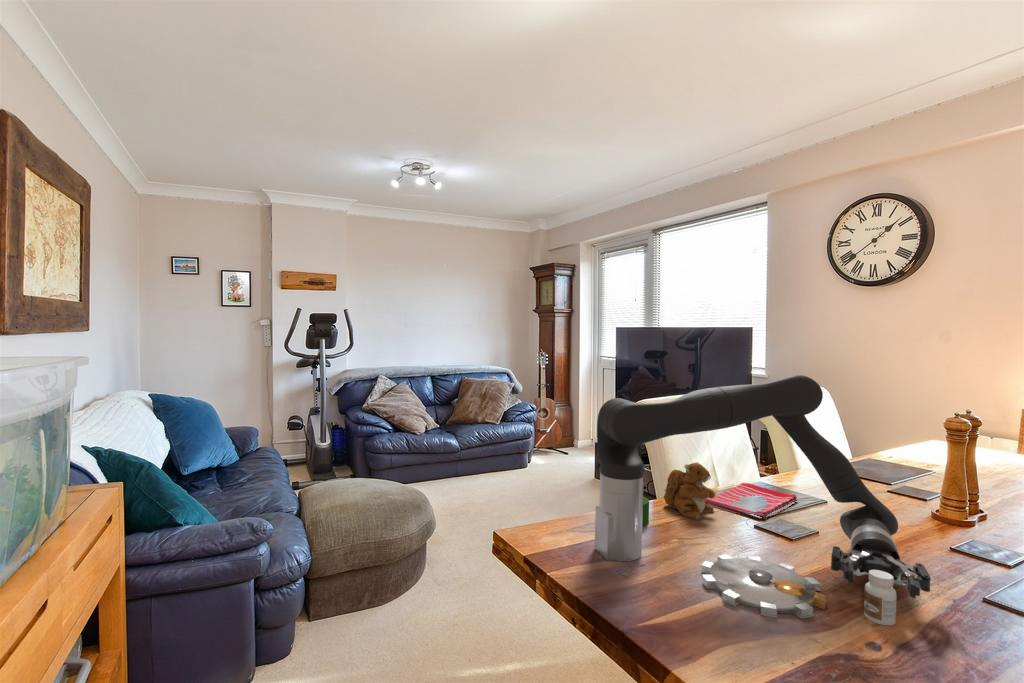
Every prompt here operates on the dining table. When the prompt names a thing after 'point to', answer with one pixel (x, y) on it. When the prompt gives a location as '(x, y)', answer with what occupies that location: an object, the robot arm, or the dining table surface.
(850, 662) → the dining table surface
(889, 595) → the pill bottle
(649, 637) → the dining table surface
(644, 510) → the candle
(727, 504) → the dish towel
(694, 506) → the stuffed squirrel
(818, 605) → the sprocket plate
